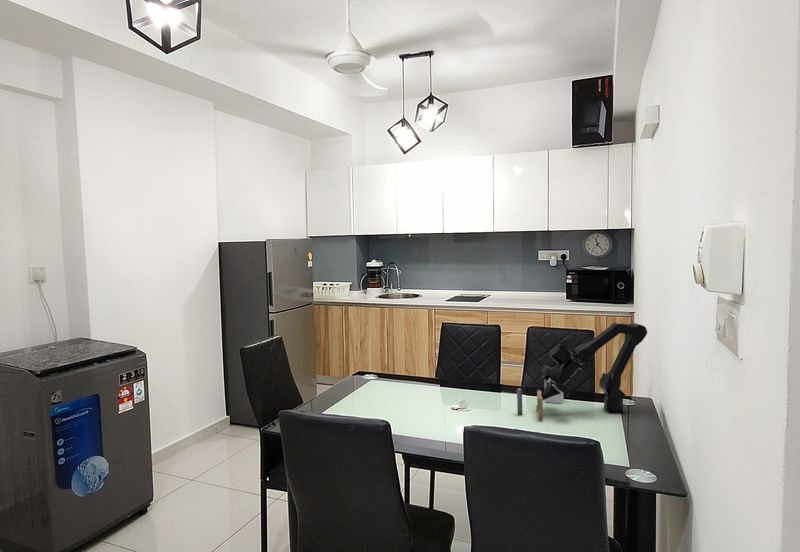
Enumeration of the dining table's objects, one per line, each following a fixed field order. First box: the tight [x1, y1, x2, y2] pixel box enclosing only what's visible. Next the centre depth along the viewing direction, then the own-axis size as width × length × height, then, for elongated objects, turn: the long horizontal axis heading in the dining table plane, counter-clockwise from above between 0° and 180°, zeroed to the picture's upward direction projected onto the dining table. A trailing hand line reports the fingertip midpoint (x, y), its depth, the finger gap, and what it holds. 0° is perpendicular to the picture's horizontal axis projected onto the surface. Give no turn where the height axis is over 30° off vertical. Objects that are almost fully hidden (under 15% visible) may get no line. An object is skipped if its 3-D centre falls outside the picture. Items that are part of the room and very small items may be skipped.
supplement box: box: [544, 381, 564, 404], centre depth 228 cm, size 7×7×13 cm
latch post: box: [516, 387, 523, 416], centre depth 212 cm, size 2×2×11 cm
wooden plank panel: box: [536, 389, 544, 420], centre depth 210 cm, size 2×14×8 cm, turn 166°
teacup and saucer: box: [450, 398, 470, 409], centre depth 224 cm, size 9×8×4 cm
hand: (542, 398), depth 210 cm, fingers closed, pressing on wooden plank panel
